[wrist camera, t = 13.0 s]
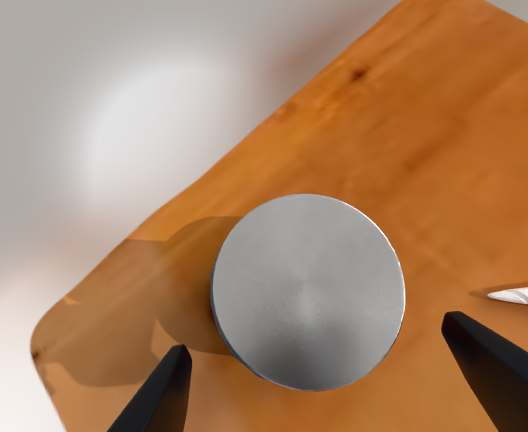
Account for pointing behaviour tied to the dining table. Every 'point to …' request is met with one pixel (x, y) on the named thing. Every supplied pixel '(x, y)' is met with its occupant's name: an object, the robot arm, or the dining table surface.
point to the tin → (309, 292)
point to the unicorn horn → (512, 295)
